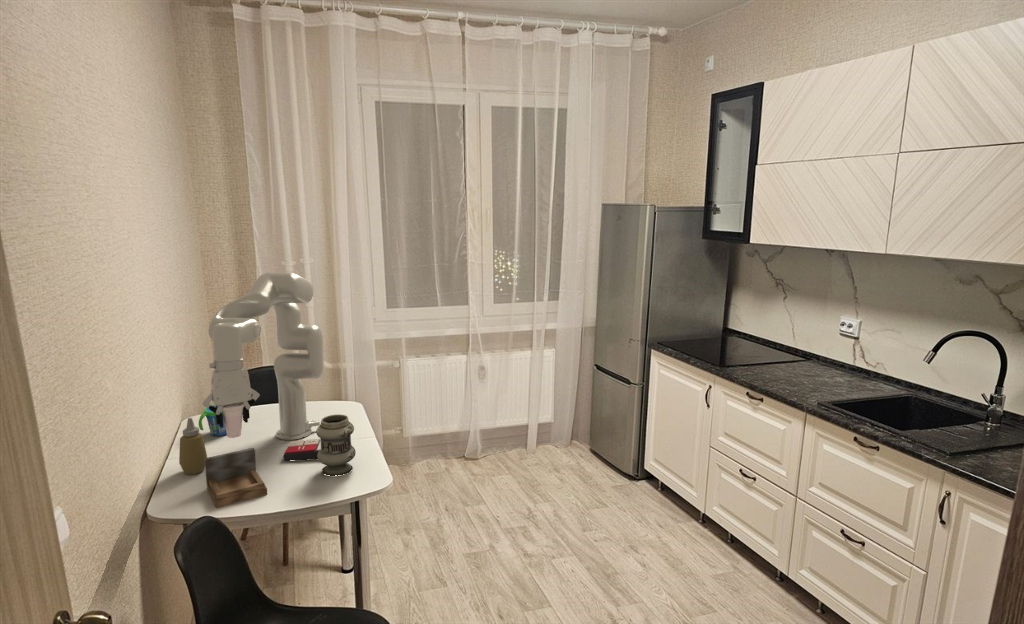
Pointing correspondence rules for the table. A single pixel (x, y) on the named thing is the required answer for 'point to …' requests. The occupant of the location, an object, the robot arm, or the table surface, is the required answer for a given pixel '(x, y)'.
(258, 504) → the table surface
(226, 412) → the smoothie
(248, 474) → the display stand
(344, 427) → the apothecary jar
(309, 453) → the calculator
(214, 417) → the snack cup
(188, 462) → the squeeze bottle
